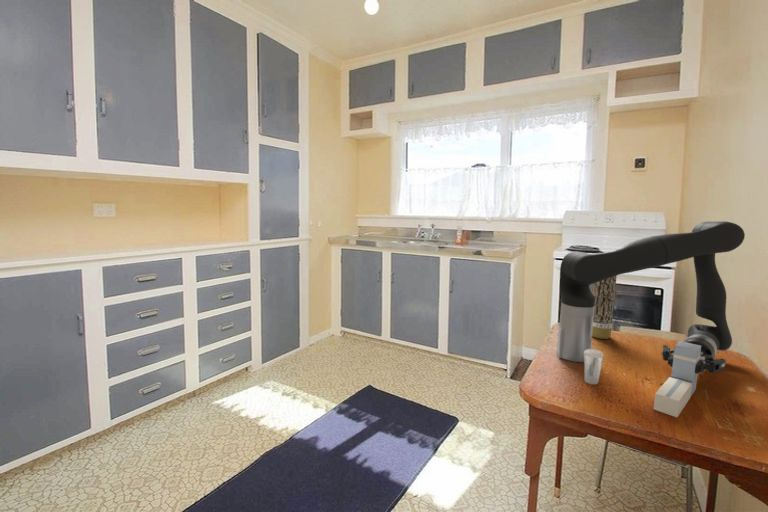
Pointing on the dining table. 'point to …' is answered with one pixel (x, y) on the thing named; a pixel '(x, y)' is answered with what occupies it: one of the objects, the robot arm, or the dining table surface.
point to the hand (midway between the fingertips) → (684, 366)
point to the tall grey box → (686, 362)
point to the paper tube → (603, 307)
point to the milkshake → (592, 365)
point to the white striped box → (673, 396)
